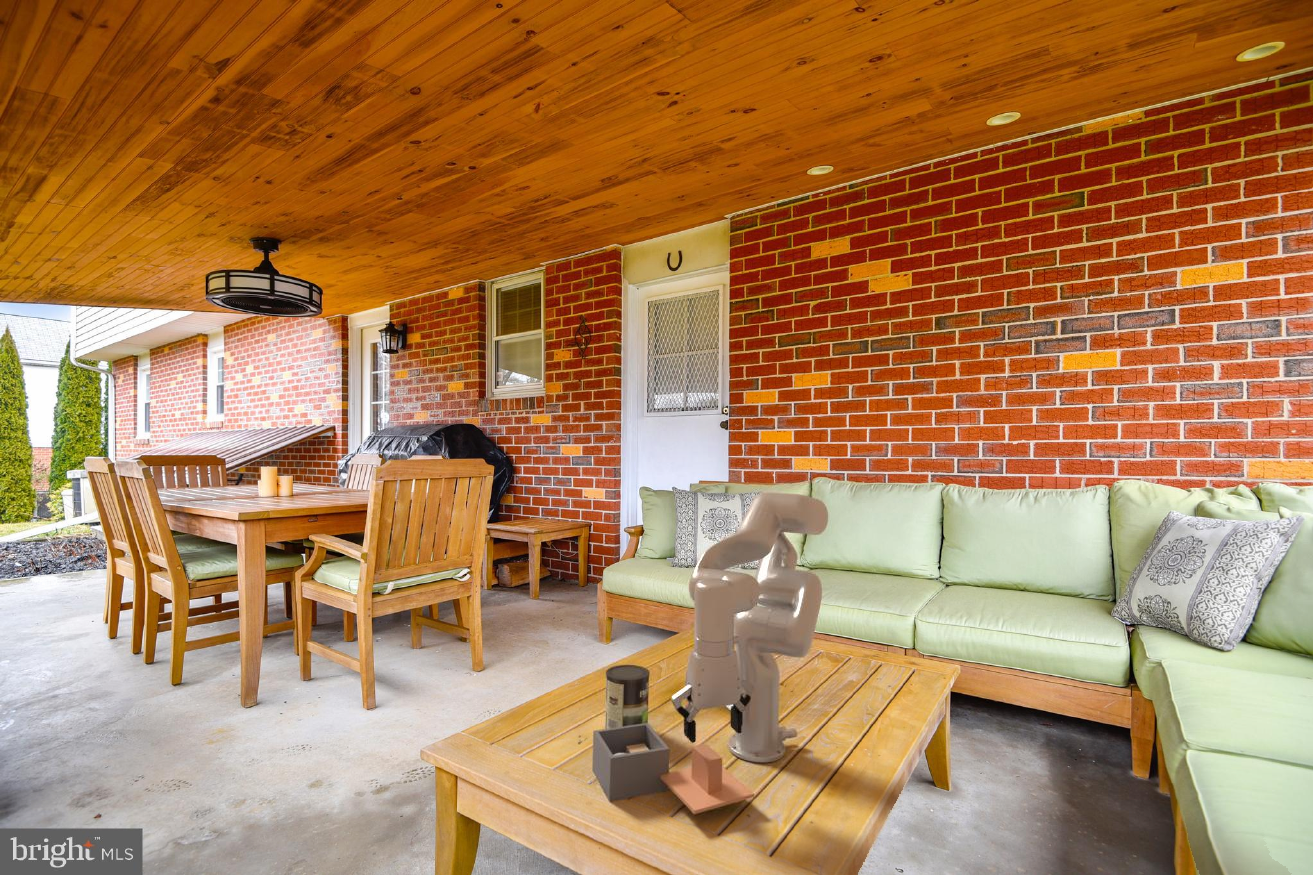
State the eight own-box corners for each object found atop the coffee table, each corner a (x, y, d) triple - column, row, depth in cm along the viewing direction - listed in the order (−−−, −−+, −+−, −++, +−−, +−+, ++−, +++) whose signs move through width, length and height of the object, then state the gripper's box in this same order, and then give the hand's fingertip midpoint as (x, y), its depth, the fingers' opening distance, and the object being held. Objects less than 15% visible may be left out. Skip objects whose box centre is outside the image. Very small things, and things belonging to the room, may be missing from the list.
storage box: (646, 760, 129) (647, 722, 129) (668, 790, 118) (669, 748, 118) (592, 770, 124) (593, 730, 125) (609, 801, 113) (610, 758, 113)
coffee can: (652, 725, 146) (653, 666, 146) (642, 745, 136) (644, 681, 136) (610, 720, 148) (612, 662, 148) (598, 739, 138) (600, 677, 138)
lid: (716, 768, 123) (717, 731, 123) (754, 801, 111) (754, 760, 111) (660, 782, 117) (661, 743, 117) (694, 818, 105) (694, 775, 106)
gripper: (743, 633, 122) (743, 718, 122) (664, 644, 116) (664, 733, 116) (763, 646, 115) (763, 735, 115) (680, 658, 109) (679, 753, 109)
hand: (713, 734), depth 115 cm, fingers open, 9 cm apart
